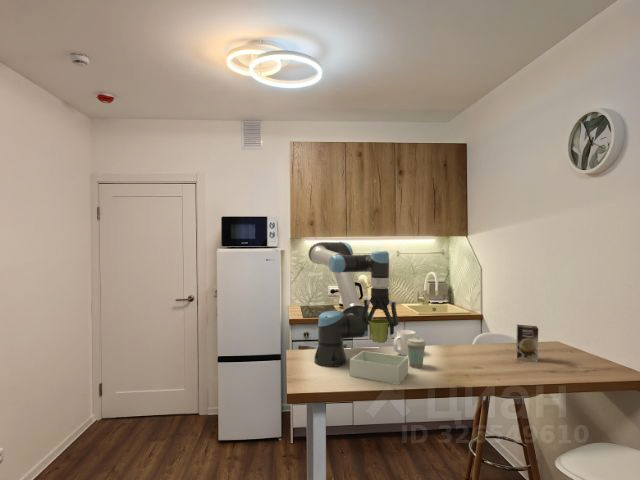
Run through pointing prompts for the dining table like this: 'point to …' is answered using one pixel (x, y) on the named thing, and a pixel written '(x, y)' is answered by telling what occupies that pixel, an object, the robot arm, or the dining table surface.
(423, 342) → the coffee cup
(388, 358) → the box
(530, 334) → the coffee box
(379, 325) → the plant pot
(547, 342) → the dining table surface
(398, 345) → the mug
